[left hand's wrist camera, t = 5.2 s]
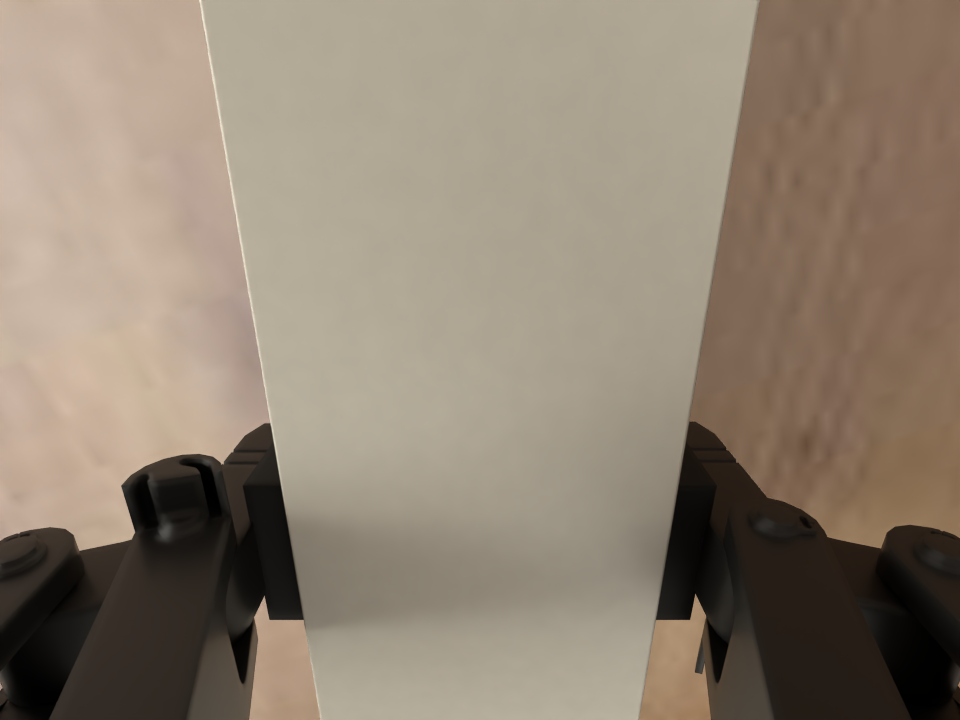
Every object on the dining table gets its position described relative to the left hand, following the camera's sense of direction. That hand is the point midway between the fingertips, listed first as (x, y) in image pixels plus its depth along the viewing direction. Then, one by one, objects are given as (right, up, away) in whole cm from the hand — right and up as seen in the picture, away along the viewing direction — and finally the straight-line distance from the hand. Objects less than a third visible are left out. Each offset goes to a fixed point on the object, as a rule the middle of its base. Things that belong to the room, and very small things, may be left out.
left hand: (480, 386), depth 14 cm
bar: (0, +29, -11) cm, 31 cm away
